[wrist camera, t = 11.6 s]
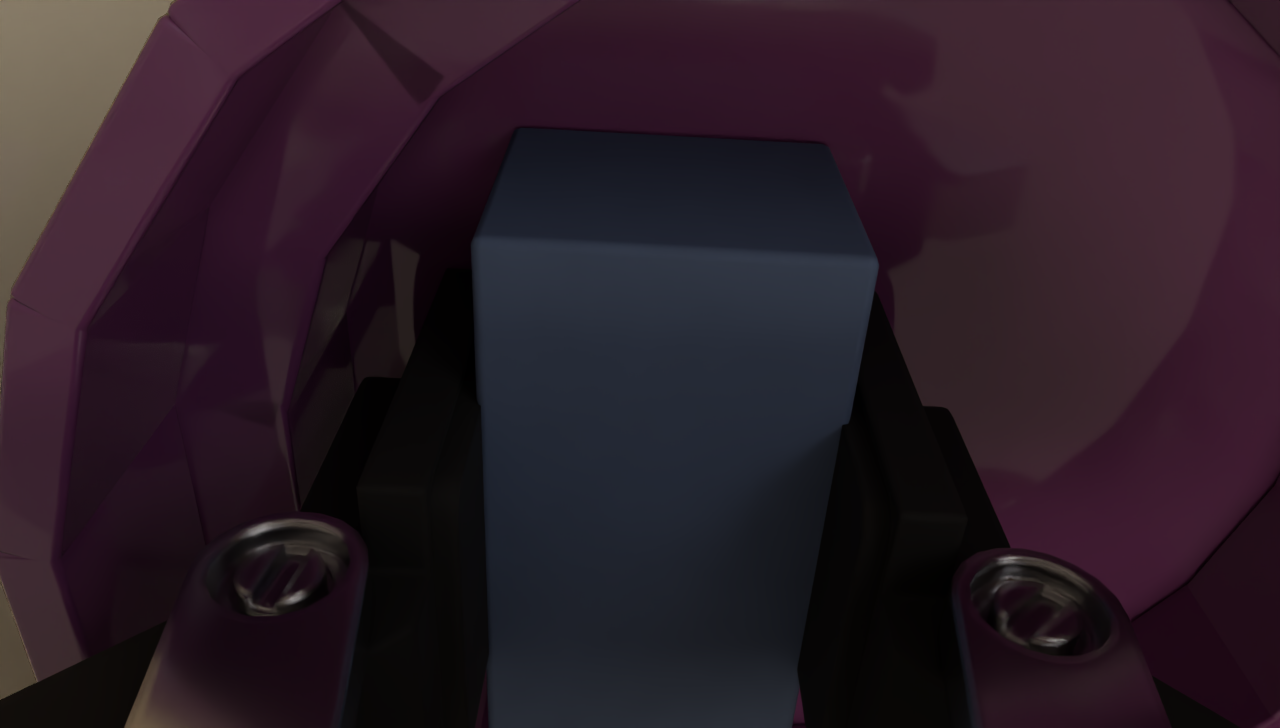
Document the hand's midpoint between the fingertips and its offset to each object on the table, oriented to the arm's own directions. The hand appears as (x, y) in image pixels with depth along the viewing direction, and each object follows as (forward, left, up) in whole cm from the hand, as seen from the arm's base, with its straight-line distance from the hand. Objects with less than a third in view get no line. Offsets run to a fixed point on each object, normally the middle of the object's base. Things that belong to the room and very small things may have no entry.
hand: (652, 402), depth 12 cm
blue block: (0, 0, 0) cm, 0 cm away
